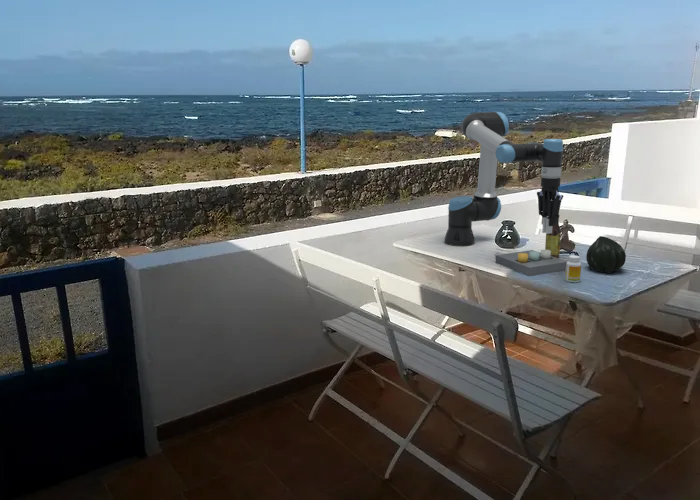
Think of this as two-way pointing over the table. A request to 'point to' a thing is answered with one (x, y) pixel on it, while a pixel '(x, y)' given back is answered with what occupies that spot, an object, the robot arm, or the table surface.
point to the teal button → (534, 256)
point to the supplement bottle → (573, 269)
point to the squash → (605, 255)
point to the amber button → (522, 257)
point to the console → (531, 264)
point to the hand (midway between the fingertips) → (547, 232)
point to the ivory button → (545, 254)
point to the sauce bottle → (554, 239)
